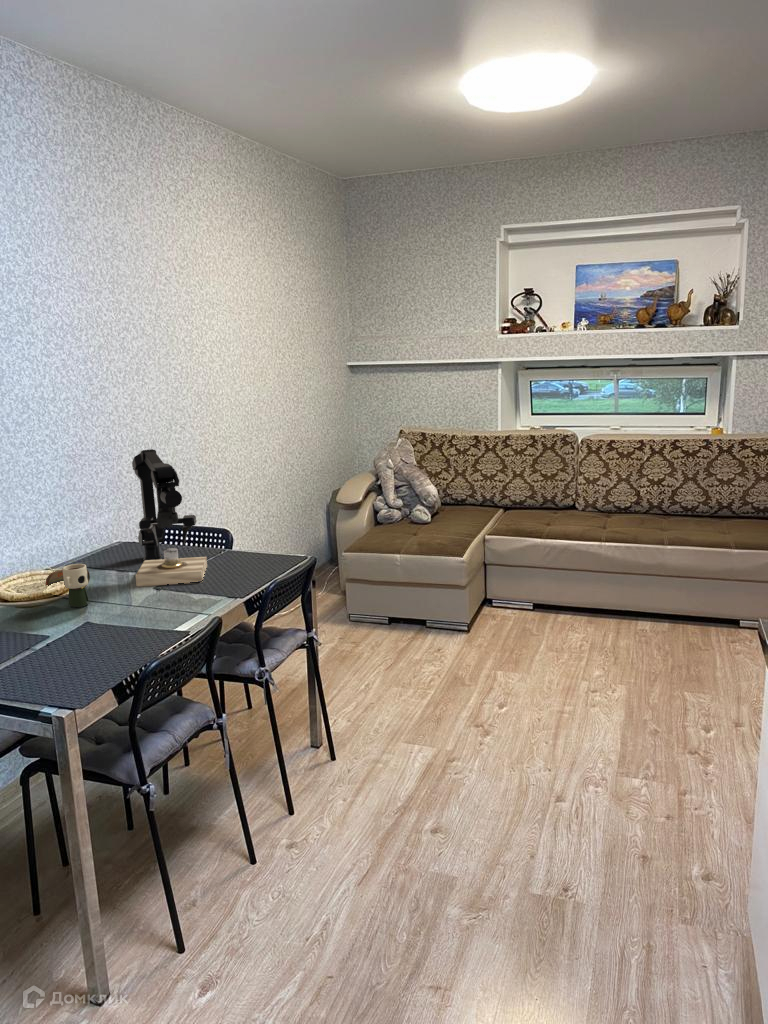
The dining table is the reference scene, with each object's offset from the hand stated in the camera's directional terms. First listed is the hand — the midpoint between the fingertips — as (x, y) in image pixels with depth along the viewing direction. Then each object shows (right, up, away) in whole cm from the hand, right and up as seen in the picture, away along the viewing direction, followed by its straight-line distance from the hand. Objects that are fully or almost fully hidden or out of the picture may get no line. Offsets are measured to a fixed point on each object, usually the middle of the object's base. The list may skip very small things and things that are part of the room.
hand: (170, 545), depth 275 cm
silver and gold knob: (0, -11, +3) cm, 11 cm away
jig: (0, -11, +3) cm, 11 cm away
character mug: (-22, -18, -24) cm, 38 cm away
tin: (-31, -15, -11) cm, 36 cm away
